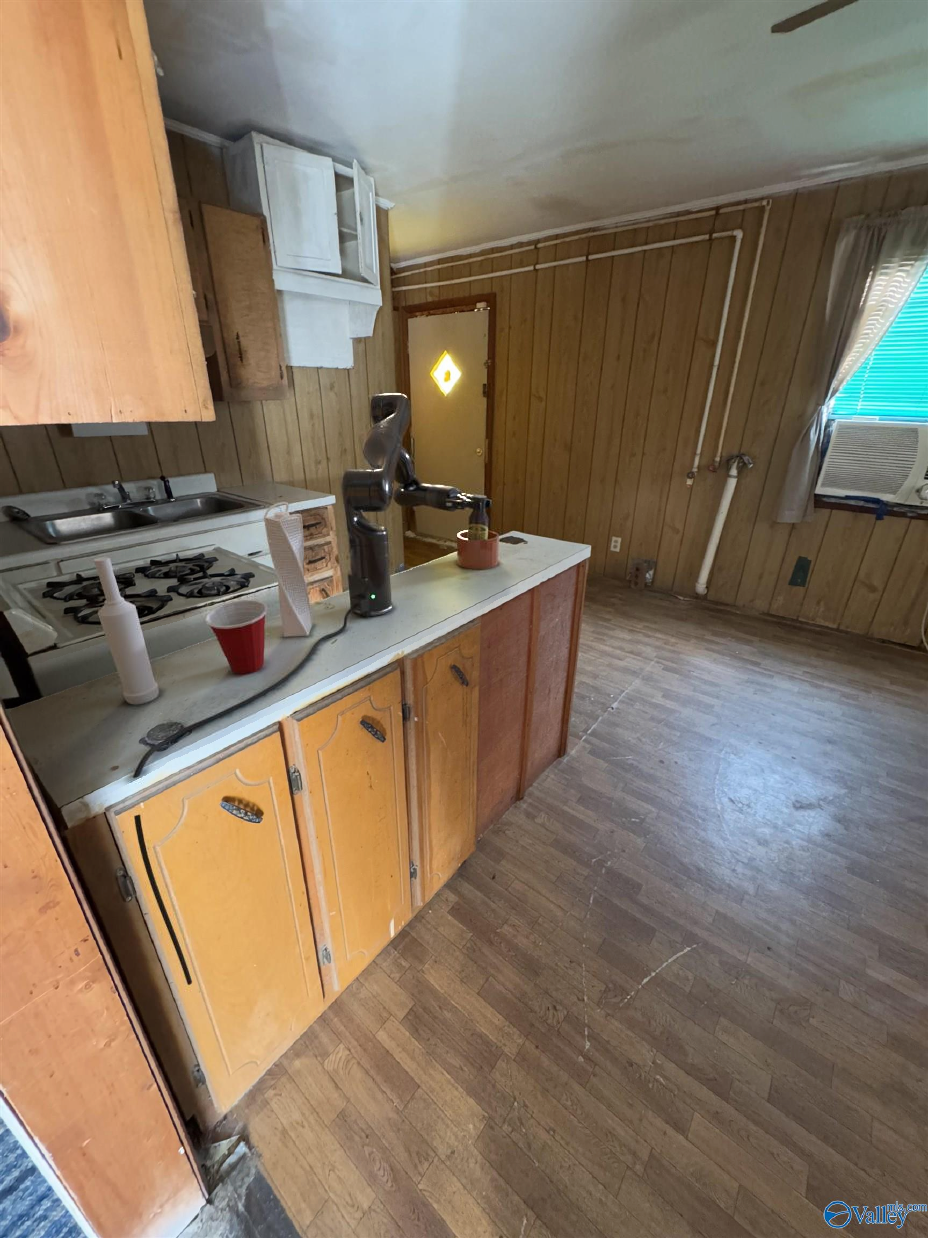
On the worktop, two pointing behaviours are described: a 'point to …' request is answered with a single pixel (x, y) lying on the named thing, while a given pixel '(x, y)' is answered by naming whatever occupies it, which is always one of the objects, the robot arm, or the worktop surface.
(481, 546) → the crock
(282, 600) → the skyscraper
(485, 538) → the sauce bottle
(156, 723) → the worktop surface
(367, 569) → the robot arm
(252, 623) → the plastic cup
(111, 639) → the bottle
